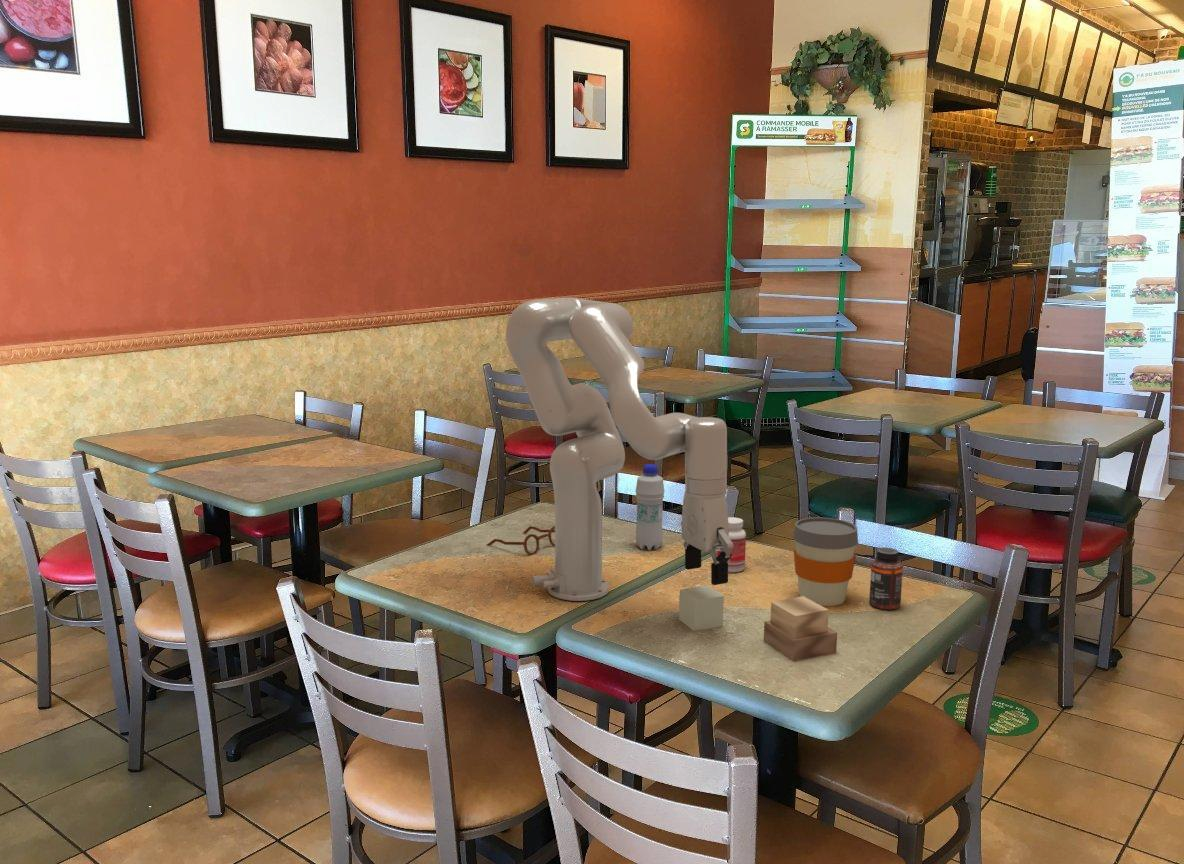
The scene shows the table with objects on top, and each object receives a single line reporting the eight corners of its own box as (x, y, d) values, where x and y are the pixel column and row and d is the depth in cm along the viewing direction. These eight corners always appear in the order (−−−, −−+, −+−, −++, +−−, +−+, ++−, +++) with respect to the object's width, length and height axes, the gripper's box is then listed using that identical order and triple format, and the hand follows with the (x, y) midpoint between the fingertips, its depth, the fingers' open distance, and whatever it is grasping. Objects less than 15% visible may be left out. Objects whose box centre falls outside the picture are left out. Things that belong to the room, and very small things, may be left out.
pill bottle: (750, 568, 206) (752, 520, 204) (733, 575, 202) (734, 525, 200) (727, 561, 210) (729, 514, 208) (710, 568, 206) (712, 519, 204)
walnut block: (792, 662, 160) (793, 640, 160) (763, 642, 168) (764, 621, 168) (836, 654, 164) (837, 632, 163) (805, 634, 172) (806, 614, 171)
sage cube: (694, 631, 172) (695, 600, 171) (678, 619, 178) (679, 589, 177) (722, 626, 175) (723, 596, 174) (706, 615, 180) (707, 585, 179)
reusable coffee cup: (815, 613, 181) (819, 538, 178) (777, 591, 192) (781, 521, 189) (867, 603, 186) (872, 531, 183) (828, 583, 197) (831, 514, 194)
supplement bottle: (900, 601, 187) (904, 547, 185) (900, 612, 182) (904, 556, 179) (869, 598, 189) (873, 544, 187) (867, 608, 184) (871, 553, 181)
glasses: (526, 559, 213) (526, 537, 212) (485, 547, 221) (485, 526, 220) (564, 545, 223) (564, 524, 222) (523, 534, 231) (523, 514, 230)
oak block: (794, 638, 161) (795, 616, 160) (770, 623, 167) (771, 602, 166) (827, 631, 163) (828, 609, 163) (802, 617, 170) (803, 596, 169)
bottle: (664, 551, 217) (666, 467, 213) (635, 551, 217) (636, 467, 213) (662, 542, 223) (664, 460, 220) (634, 542, 223) (635, 460, 220)
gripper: (665, 478, 177) (666, 565, 180) (712, 498, 162) (712, 593, 165) (700, 474, 180) (700, 560, 183) (749, 493, 164) (748, 586, 167)
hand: (706, 575), depth 174 cm, fingers open, 9 cm apart
